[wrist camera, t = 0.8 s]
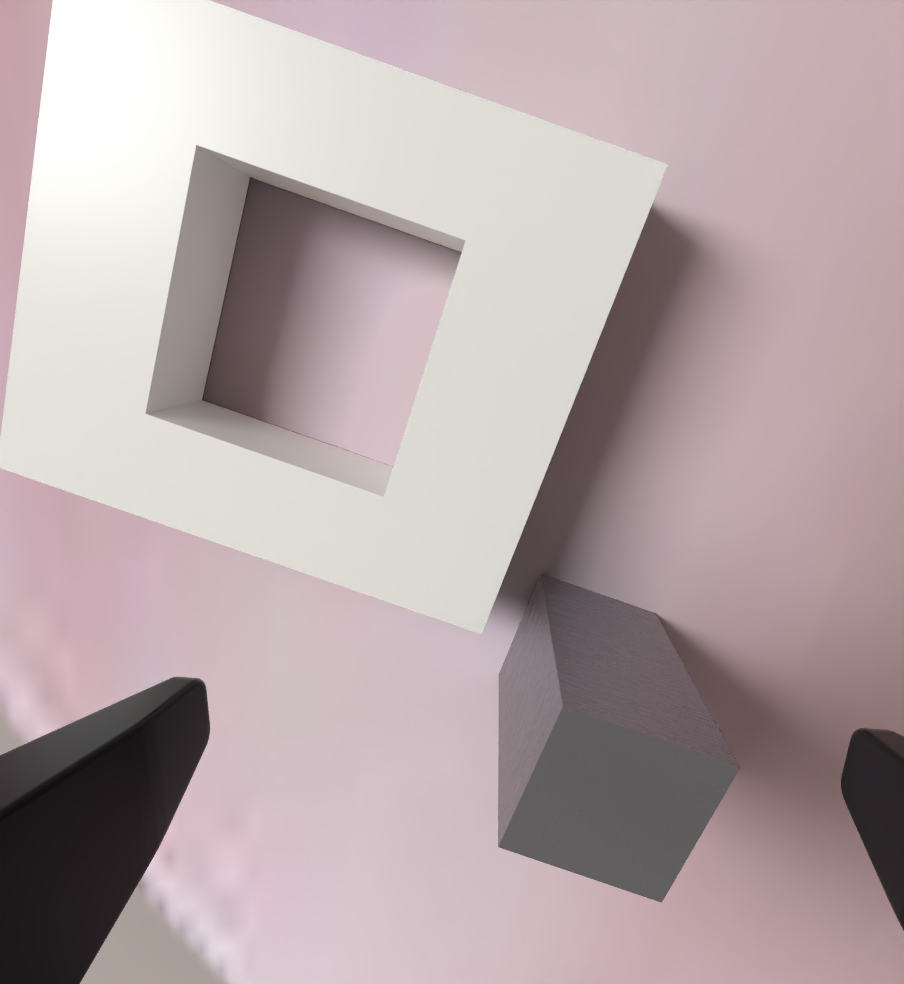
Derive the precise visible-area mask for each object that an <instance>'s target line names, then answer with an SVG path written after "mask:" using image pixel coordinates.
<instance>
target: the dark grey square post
mask: <svg viewBox="0 0 904 984" xmlns="http://www.w3.org/2000/svg"><path fill="white" fill-rule="evenodd" d="M739 768H740V766H739V765H738V763H737V761H736V759H735V757H734V755H733V754H732V752H731V750H730V748H729V746H728V744H727V743H726V741H725V739H724V737H723V735H722V733H721V732H720V730H719V728H718V726H717V724H716V723H715V721H714V719H713V717H712V715H711V713H710V712H709V710H708V708H707V706H706V704H705V702H704V701H703V699H702V697H701V695H700V693H699V691H698V690H697V688H696V686H695V684H694V682H693V680H692V679H691V677H690V675H689V673H688V671H687V669H686V668H685V666H684V664H683V662H682V660H681V658H680V657H679V655H678V653H677V651H676V649H675V648H674V646H673V644H672V642H671V640H670V638H669V637H668V635H667V633H666V631H665V629H664V627H663V626H662V624H661V622H660V620H659V618H658V616H657V615H656V613H653V612H650V611H647V610H644V609H641V608H638V607H636V606H633V605H630V604H627V603H624V602H621V601H618V600H615V599H613V598H610V597H607V596H604V595H601V594H598V593H595V592H592V591H589V590H587V589H584V588H581V587H578V586H575V585H572V584H569V583H566V582H564V581H561V580H558V579H555V578H552V577H549V576H546V575H543V574H540V577H539V579H538V582H537V584H536V586H535V589H534V591H533V594H532V596H531V598H530V601H529V603H528V606H527V608H526V610H525V613H524V615H523V618H522V620H521V622H520V625H519V627H518V630H517V632H516V634H515V637H514V639H513V642H512V644H511V647H510V649H509V651H508V654H507V656H506V659H505V661H504V663H503V666H502V668H501V671H500V673H499V786H498V847H500V848H503V849H506V850H509V851H512V852H515V853H518V854H520V855H523V856H526V857H529V858H532V859H535V860H538V861H541V862H544V863H547V864H550V865H553V866H556V867H559V868H562V869H565V870H568V871H570V872H573V873H576V874H579V875H582V876H585V877H588V878H591V879H594V880H597V881H600V882H603V883H606V884H609V885H612V886H615V887H617V888H620V889H623V890H626V891H629V892H632V893H635V894H638V895H641V896H644V897H647V898H650V899H653V900H656V901H659V902H662V901H663V899H664V898H665V896H666V894H667V892H668V891H669V889H670V887H671V886H672V884H673V882H674V880H675V879H676V877H677V875H678V873H679V872H680V870H681V868H682V867H683V865H684V863H685V861H686V860H687V858H688V856H689V855H690V853H691V851H692V849H693V848H694V846H695V844H696V842H697V841H698V839H699V837H700V836H701V834H702V832H703V830H704V829H705V827H706V825H707V824H708V822H709V820H710V818H711V817H712V815H713V813H714V812H715V810H716V808H717V806H718V805H719V803H720V801H721V799H722V798H723V796H724V794H725V793H726V791H727V789H728V787H729V786H730V784H731V782H732V781H733V779H734V777H735V775H736V774H737V772H738V770H739Z"/></svg>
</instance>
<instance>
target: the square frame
mask: <svg viewBox="0 0 904 984" xmlns="http://www.w3.org/2000/svg"><path fill="white" fill-rule="evenodd" d="M667 166H668V164H665V163H662V162H659V161H657V160H654V159H651V158H648V157H645V156H643V155H640V154H637V153H634V152H631V151H629V150H626V149H623V148H620V147H618V146H615V145H612V144H609V143H606V142H604V141H601V140H598V139H595V138H592V137H590V136H587V135H584V134H581V133H578V132H576V131H573V130H570V129H567V128H565V127H562V126H559V125H556V124H553V123H551V122H548V121H545V120H542V119H539V118H537V117H534V116H531V115H528V114H525V113H523V112H520V111H517V110H514V109H512V108H509V107H506V106H503V105H500V104H498V103H495V102H492V101H489V100H486V99H484V98H481V97H478V96H475V95H472V94H470V93H467V92H464V91H461V90H459V89H456V88H453V87H450V86H447V85H445V84H442V83H439V82H436V81H433V80H431V79H428V78H425V77H422V76H419V75H417V74H414V73H411V72H408V71H406V70H403V69H400V68H397V67H394V66H392V65H389V64H386V63H383V62H380V61H378V60H375V59H372V58H369V57H366V56H364V55H361V54H358V53H355V52H353V51H350V50H347V49H344V48H341V47H339V46H336V45H333V44H330V43H327V42H325V41H322V40H319V39H316V38H313V37H311V36H308V35H305V34H302V33H300V32H297V31H294V30H291V29H288V28H286V27H283V26H280V25H277V24H274V23H272V22H269V21H266V20H263V19H260V18H258V17H255V16H252V15H249V14H247V13H244V12H241V11H238V10H235V9H233V8H230V7H227V6H224V5H221V4H219V3H216V2H213V1H210V0H53V4H52V12H51V21H50V29H49V37H48V46H47V54H46V62H45V71H44V79H43V87H42V96H41V104H40V112H39V121H38V129H37V137H36V146H35V154H34V163H33V171H32V179H31V188H30V196H29V204H28V213H27V221H26V229H25V238H24V246H23V254H22V263H21V271H20V279H19V288H18V296H17V304H16V313H15V321H14V329H13V338H12V346H11V354H10V363H9V371H8V379H7V388H6V396H5V404H4V413H3V421H2V429H1V438H0V468H1V469H4V470H7V471H10V472H13V473H16V474H19V475H22V476H25V477H27V478H30V479H33V480H36V481H39V482H42V483H45V484H48V485H51V486H53V487H56V488H59V489H62V490H65V491H68V492H71V493H74V494H77V495H79V496H82V497H85V498H88V499H91V500H94V501H97V502H100V503H103V504H106V505H108V506H111V507H114V508H117V509H120V510H123V511H126V512H129V513H132V514H134V515H137V516H140V517H143V518H146V519H149V520H152V521H155V522H158V523H161V524H163V525H166V526H169V527H172V528H175V529H178V530H181V531H184V532H187V533H189V534H192V535H195V536H198V537H201V538H204V539H207V540H210V541H213V542H216V543H218V544H221V545H224V546H227V547H230V548H233V549H236V550H239V551H242V552H244V553H247V554H250V555H253V556H256V557H259V558H262V559H265V560H268V561H270V562H273V563H276V564H279V565H282V566H285V567H288V568H291V569H294V570H297V571H299V572H302V573H305V574H308V575H311V576H314V577H317V578H320V579H323V580H325V581H328V582H331V583H334V584H337V585H340V586H343V587H346V588H349V589H352V590H354V591H357V592H360V593H363V594H366V595H369V596H372V597H375V598H378V599H380V600H383V601H386V602H389V603H392V604H395V605H398V606H401V607H404V608H407V609H409V610H412V611H415V612H418V613H421V614H424V615H427V616H430V617H433V618H435V619H438V620H441V621H444V622H447V623H450V624H453V625H456V626H459V627H461V628H464V629H467V630H470V631H473V632H476V633H479V634H482V632H483V629H484V627H485V624H486V622H487V619H488V617H489V614H490V612H491V609H492V607H493V604H494V602H495V599H496V597H497V594H498V592H499V589H500V587H501V584H502V582H503V579H504V577H505V574H506V571H507V569H508V566H509V564H510V561H511V559H512V556H513V554H514V551H515V549H516V546H517V544H518V541H519V539H520V536H521V534H522V531H523V529H524V526H525V524H526V521H527V519H528V516H529V514H530V511H531V508H532V506H533V503H534V501H535V498H536V496H537V493H538V491H539V488H540V486H541V483H542V481H543V478H544V476H545V473H546V471H547V468H548V466H549V463H550V461H551V458H552V456H553V453H554V451H555V448H556V445H557V443H558V440H559V438H560V435H561V433H562V430H563V428H564V425H565V423H566V420H567V418H568V415H569V413H570V410H571V408H572V405H573V403H574V400H575V398H576V395H577V393H578V390H579V388H580V385H581V383H582V380H583V377H584V375H585V372H586V370H587V367H588V365H589V362H590V360H591V357H592V355H593V352H594V350H595V347H596V345H597V342H598V340H599V337H600V335H601V332H602V330H603V327H604V325H605V322H606V320H607V317H608V314H609V312H610V309H611V307H612V304H613V302H614V299H615V297H616V294H617V292H618V289H619V287H620V284H621V282H622V279H623V277H624V274H625V272H626V269H627V267H628V264H629V262H630V259H631V257H632V254H633V251H634V249H635V246H636V244H637V241H638V239H639V236H640V234H641V231H642V229H643V226H644V224H645V221H646V219H647V216H648V214H649V211H650V209H651V206H652V204H653V201H654V199H655V196H656V194H657V191H658V188H659V186H660V183H661V181H662V178H663V176H664V173H665V171H666V168H667ZM250 178H253V179H256V180H259V181H262V182H265V183H267V184H270V185H273V186H276V187H279V188H282V189H284V190H287V191H290V192H293V193H296V194H298V195H301V196H304V197H307V198H310V199H313V200H315V201H318V202H321V203H324V204H327V205H329V206H332V207H335V208H338V209H341V210H344V211H346V212H349V213H352V214H355V215H358V216H360V217H363V218H366V219H369V220H372V221H375V222H377V223H380V224H383V225H386V226H389V227H391V228H394V229H397V230H400V231H403V232H406V233H408V234H411V235H414V236H417V237H420V238H423V239H425V240H428V241H431V242H434V243H437V244H439V245H442V246H445V247H448V248H451V249H454V250H456V251H459V252H462V253H461V256H460V259H459V263H458V266H457V269H456V272H455V275H454V278H453V281H452V285H451V288H450V291H449V294H448V297H447V300H446V303H445V306H444V310H443V313H442V316H441V319H440V322H439V325H438V328H437V332H436V335H435V338H434V341H433V344H432V347H431V350H430V353H429V357H428V360H427V363H426V366H425V369H424V372H423V375H422V379H421V382H420V385H419V388H418V391H417V394H416V397H415V400H414V404H413V407H412V410H411V413H410V416H409V419H408V422H407V426H406V429H405V432H404V435H403V438H402V441H401V444H400V447H399V451H398V454H397V457H396V460H395V463H394V466H393V467H392V466H389V465H386V464H383V463H381V462H378V461H375V460H372V459H369V458H366V457H363V456H361V455H358V454H355V453H352V452H349V451H346V450H343V449H340V448H338V447H335V446H332V445H329V444H326V443H323V442H320V441H318V440H315V439H312V438H309V437H306V436H303V435H300V434H297V433H295V432H292V431H289V430H286V429H283V428H280V427H277V426H275V425H272V424H269V423H266V422H263V421H260V420H257V419H254V418H252V417H249V416H246V415H243V414H240V413H237V412H234V411H232V410H229V409H226V408H223V407H220V406H217V405H214V404H211V403H209V402H206V401H203V400H202V398H203V393H204V389H205V384H206V380H207V375H208V370H209V366H210V361H211V356H212V352H213V347H214V342H215V338H216V333H217V329H218V324H219V319H220V315H221V310H222V305H223V301H224V296H225V291H226V287H227V282H228V278H229V273H230V268H231V264H232V259H233V254H234V250H235V245H236V240H237V236H238V231H239V227H240V222H241V217H242V213H243V208H244V203H245V199H246V194H247V189H248V185H249V180H250Z"/></svg>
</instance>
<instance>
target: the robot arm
mask: <svg viewBox="0 0 904 984" xmlns="http://www.w3.org/2000/svg"><path fill="white" fill-rule="evenodd" d="M209 734H210V721H209V711H208V701H207V691H206V686H205V683H204V682H203V681H202V680H201V679H199V678H187V677H173V678H170V679H168V680H166V681H164V682H161V683H159V684H157V685H155V686H153V687H150V688H148V689H146V690H144V691H142V692H139V693H137V694H135V695H133V696H130V697H128V698H126V699H124V700H122V701H119V702H117V703H115V704H113V705H111V706H108V707H106V708H104V709H102V710H100V711H97V712H95V713H93V714H91V715H88V716H86V717H84V718H82V719H80V720H77V721H75V722H73V723H71V724H69V725H66V726H64V727H62V728H60V729H57V730H55V731H53V732H51V733H49V734H46V735H44V736H42V737H40V738H38V739H35V740H33V741H31V742H29V743H27V744H24V745H22V746H20V747H18V748H15V749H13V750H11V751H9V752H7V753H5V754H2V755H0V984H80V982H81V980H82V979H83V977H84V975H85V974H86V972H87V970H88V969H89V967H90V965H91V963H92V961H93V960H94V958H95V956H96V955H97V953H98V951H99V950H100V948H101V946H102V945H103V943H104V941H105V939H106V938H107V936H108V934H109V932H110V931H111V929H112V927H113V926H114V924H115V922H116V921H117V919H118V917H119V915H120V914H121V912H122V910H123V909H124V907H125V905H126V903H127V902H128V900H129V898H130V897H131V895H132V893H133V892H134V890H135V888H136V886H137V885H138V883H139V881H140V880H141V878H142V876H143V874H144V873H145V871H146V869H147V868H148V866H149V864H150V862H151V861H152V859H153V857H154V855H155V853H156V852H157V850H158V848H159V846H160V844H161V842H162V840H163V838H164V836H165V834H166V832H167V830H168V828H169V826H170V824H171V821H172V819H173V817H174V815H175V813H176V811H177V808H178V806H179V804H180V802H181V800H182V798H183V795H184V793H185V791H186V789H187V787H188V785H189V782H190V780H191V778H192V776H193V774H194V772H195V769H196V767H197V765H198V763H199V761H200V759H201V756H202V754H203V752H204V750H205V748H206V745H207V743H208V739H209ZM841 789H842V794H843V797H844V800H845V803H846V805H847V807H848V809H849V812H850V814H851V816H852V818H853V821H854V823H855V825H856V827H857V830H858V832H859V834H860V837H861V839H862V841H863V843H864V846H865V848H866V850H867V852H868V855H869V857H870V859H871V861H872V864H873V866H874V868H875V870H876V873H877V875H878V877H879V879H880V882H881V884H882V886H883V889H884V891H885V893H886V895H887V898H888V900H889V902H890V904H891V906H892V908H893V910H894V912H895V914H896V916H897V919H898V921H899V922H900V924H901V926H902V928H903V930H904V737H903V736H901V735H899V734H897V733H895V732H893V731H890V730H881V729H867V728H860V729H858V730H856V731H855V732H854V733H853V734H852V737H851V740H850V744H849V748H848V752H847V757H846V761H845V765H844V769H843V773H842V778H841Z"/></svg>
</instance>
